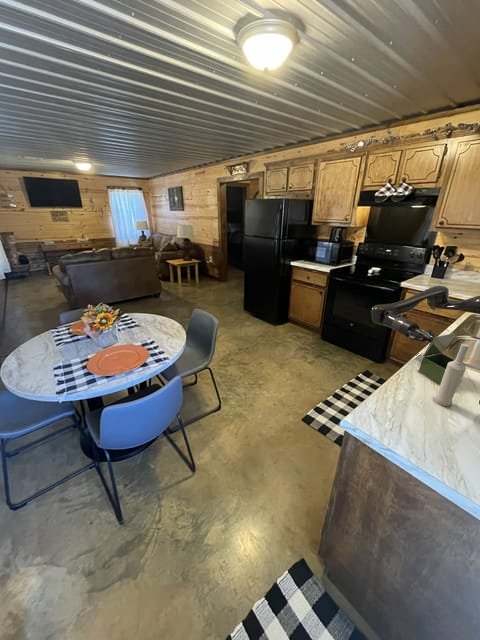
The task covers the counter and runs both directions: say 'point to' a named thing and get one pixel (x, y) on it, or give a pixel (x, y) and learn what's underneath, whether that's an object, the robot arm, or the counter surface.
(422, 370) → the green hinged box
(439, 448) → the counter surface
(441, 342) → the lid
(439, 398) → the bottle
